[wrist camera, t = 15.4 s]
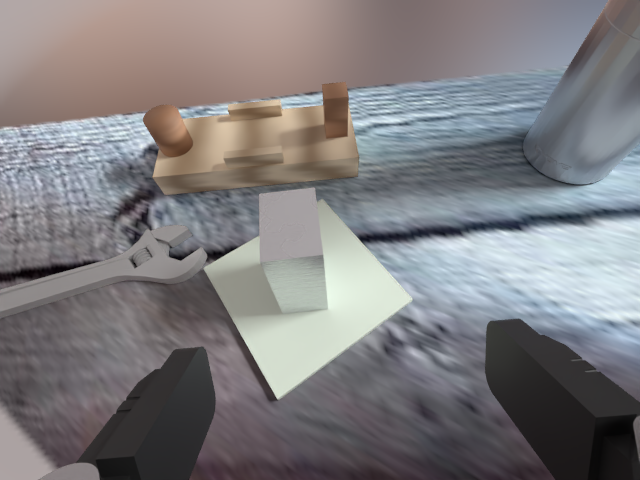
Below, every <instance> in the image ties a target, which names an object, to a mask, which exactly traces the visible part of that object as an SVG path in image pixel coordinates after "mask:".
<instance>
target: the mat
mask: <svg viewBox="0 0 640 480" xmlns="http://www.w3.org/2000/svg"><path fill="white" fill-rule="evenodd" d="M317 208H318V216H319V224H320V232H321V240H322V248H323V257H324V267H325V278H326V289H327V300H328V309H324V310H315V311H307V312H299V313H290V314H283V313H282V311H281V308H280V306H279V304H278V302H277V299H276V297H275V295H274V293H273V291H272V288H271V286H270V284H269V282H268V279H267V277H266V275H265V273H264V270H263V268H262V266H261V264H260V239H259V236H258V237H256V238H254V239H252V240H251V241H249V242H247V243H246V244H244V245H242V246H240V247H239V248H237V249H235V250H234V251H232V252H230V253H228V254H227V255H225V256H223V257H222V258H220V259H218V260H216V261H215V262H213V263H211V264H209V265H208V266H206V267H204V270H205V272H206V274H207V276H208V277H209V279H210V281H211V283H212V284H213V286H214V288H215V290H216V291H217V293H218V295H219V297H220V299H221V300H222V302H223V304H224V306H225V307H226V309H227V311H228V313H229V314H230V316H231V318H232V320H233V322H234V323H235V325H236V327H237V329H238V330H239V332H240V334H241V336H242V338H243V339H244V341H245V343H246V345H247V346H248V348H249V350H250V352H251V353H252V355H253V357H254V359H255V361H256V362H257V364H258V366H259V368H260V369H261V371H262V373H263V375H264V376H265V378H266V380H267V382H268V384H269V385H270V387H271V389H272V391H273V392H274V394H275V396H276V398H277V399H278V400H279V399H281V398H282V397H284V396H285V395H286V394H288V393H289V392H290V391H292V390H293V389H294V388H296V387H297V386H298V385H300V384H301V383H302V382H304V381H305V380H307V379H308V378H309V377H311V376H312V375H313V374H315V373H316V372H317V371H319V370H320V369H321V368H323V367H324V366H325V365H327V364H328V363H330V362H331V361H332V360H334V359H335V358H336V357H338V356H339V355H340V354H342V353H343V352H344V351H346V350H347V349H348V348H350V347H351V346H353V345H354V344H355V343H357V342H358V341H359V340H361V339H362V338H363V337H365V336H366V335H367V334H369V333H370V332H371V331H373V330H374V329H375V328H377V327H378V326H380V325H381V324H382V323H384V322H385V321H386V320H388V319H389V318H390V317H392V316H393V315H394V314H396V313H397V312H398V311H400V310H401V309H403V308H404V307H405V306H407V305H408V304H409V303H411V302H412V300H413V299H412V298H411V297H410V296H409V294H408V293H407V292H406V291H405V290H404V289H403V288H402V287H401V286H400V284H399V283H398V282H397V281H396V280H395V279H394V278H393V277H392V276H391V274H390V273H389V272H388V271H387V270H386V269H385V268H384V267H383V266H382V264H381V263H380V262H379V261H378V260H377V259H376V258H375V257H374V256H373V254H372V253H371V252H370V251H369V250H368V249H367V248H366V247H365V246H364V244H363V243H362V242H361V241H360V240H359V239H358V238H357V237H356V236H355V234H354V233H353V232H352V231H351V230H350V229H349V228H348V227H347V226H346V224H345V223H344V222H343V221H342V220H341V219H340V218H339V217H338V216H337V214H336V213H335V212H334V211H333V210H332V209H331V208H330V207H329V206H328V204H327V203H326V202H325V201H324V200H323V199H321V200H320V201H318V202H317Z"/></svg>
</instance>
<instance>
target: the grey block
mask: <svg viewBox="0 0 640 480" xmlns="http://www.w3.org/2000/svg"><path fill="white" fill-rule="evenodd" d="M259 239H260V264H261V266H262V268H263V270H264V273H265V275H266V277H267V279H268V282H269V284H270V286H271V288H272V291H273V293H274V295H275V297H276V299H277V302H278V304H279V306H280V308H281V311H282V313H283V314H290V313H299V312H307V311H315V310H324V309H328V300H327V289H326V278H325V267H324V257H323V248H322V240H321V232H320V224H319V216H318V208H317V200H316V192H315V187H313V188H305V189H296V190H287V191H279V192H270V193H262V194H259Z"/></svg>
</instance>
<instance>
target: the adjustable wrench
mask: <svg viewBox="0 0 640 480" xmlns="http://www.w3.org/2000/svg"><path fill="white" fill-rule="evenodd" d="M191 236H193V235H192V234H191V232H190V231H189V230H188V228H187V227H186V226H182V225H170V226H164V227H161V228H157V229H154V230H152V231H150V230H149V229H147V230H146V231H145V233H144V235H142V236H141V237H140V238H141V239H140V240H139V241H138V242H137V243H135V244H134V245H133V246H132V247H131V248H130V249H128V250H127V251H125V252H124V253H122V254H120V255H118V256H116V257H114V258H111V259H108V260H104V261H101V262H97V263H94V264H90V265H86V266H83V267H79V268H76V269H72V270H69V271H65V272H61V273H58V274H54V275H51V276H47V277H43V278H40V279H36V280H33V281H29V282H26V283H22V284H18V285H15V286H11V287H8V288H4V289H1V290H0V318H3V317H7V316H10V315H13V314H16V313H19V312H23V311H26V310H29V309H32V308H36V307H39V306H42V305H45V304H49V303H52V302H55V301H58V300H61V299H65V298H68V297H71V296H74V295H78V294H81V293H84V292H87V291H91V290H94V289H97V288H100V287H104V286H107V285H110V284H113V283H117V282H121V281H130V280H137V281H152V282H159V283H165V284H176V283H181V282H184V281H186V280H188V279H190V278H191V277H193V276H194V275H195V274H196V273H198V272H199V270H200V269H201V268H202V267H203V266H204V264H205V261H206V259H207V254H206V252H205V251H204V250H203V248H202V247H201V248H199V249H198V250H196V251H195V252H193V253H192V254H190V255H189V256H188V257H186V258H185V259H183V260H182V261H179V260H176V259H173V258H170V257H169V249H170V247H172V248H174V247H176V246H177V245H179V244H180V243H182V242H184V241H185V240H187V239H188V238H190V237H191ZM134 262H135V264H136V266H137V268H136V266H135V265H134Z"/></svg>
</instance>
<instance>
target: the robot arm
mask: <svg viewBox="0 0 640 480" xmlns="http://www.w3.org/2000/svg"><path fill="white" fill-rule="evenodd" d="M639 144H640V0H608V2H607V4H606V6H605V7H604V9H603V11H602V13H601V14H600V16H599V17H598V19H597V20H596V22H595V24H594V25H593V27H592V29H591V30H590V32H589V34H588V35H587V37H586V38H585V40H584V42H583V44H582V45H581V47H580V48H579V50H578V52H577V53H576V55H575V57H574V58H573V60H572V62H571V63H570V65H569V66H568V68H567V70H566V71H565V73H564V75H563V76H562V78H561V80H560V81H559V83H558V84H557V86H556V88H555V89H554V91H553V93H552V94H551V96H550V98H549V99H548V101H547V103H546V104H545V106H544V107H543V109H542V110H541V112H540V114H539V115H538V117H537V119H536V120H535V122H534V124H533V125H532V127H531V129H530V130H529V132H528V134H527V135H526V137H525V139H524V141H523V151H524V154H525V156H526V158H527V160H528V161H529V162H530V163H531V164H532V166H533V167H535V168H536V169H537V170H538V171H540V172H541V173H543V174H545V175H546V176H548V177H550V178H553V179H555V180H558V181H562V182H565V183H571V184H590V183H595V182H597V181H600V180H602V179H603V178H605V177H606V176H607V175H608V174H609V173H610V172H611V171H612V170H613V169H614V168H615V167H616V166H617V165H618V164H619V163H620V162H621V161H622V160H623V159H624V158H625V157H626V156H627V155H628V154H629V153H630V152H631V151H632V150H633V149H635V148H636V147H637V146H638V145H639ZM485 373H486V378H487V382H488V385H489V388H490V390H491V392H492V393H493V395H494V396H495V398H496V399H497V400H498V402H499V403H500V404H501V406H502V407H503V409H504V410H505V411H506V413H507V414H508V415H509V417H510V418H511V419H512V421H513V422H514V424H515V425H516V426H517V428H518V429H519V430H520V432H521V433H522V435H523V436H524V437H525V439H526V440H527V441H528V443H529V444H530V445H531V447H532V448H533V450H534V451H535V452H536V454H537V455H538V456H539V458H540V459H541V460H542V462H543V463H544V465H545V466H546V467H547V469H548V470H549V471H550V473H551V474H552V476H553V477H554V478H555V480H640V402H638V401H637V400H636V399H635V398H633V397H632V396H631V395H629V394H628V393H627V392H625V391H624V390H623V389H622V388H620V387H619V386H618V385H616V384H615V383H614V382H613V381H611V380H610V379H609V378H607V377H606V376H605V375H603V374H602V373H601V372H597V371H596V368H594V367H593V366H592V365H591V364H589V363H588V362H587V361H585V360H584V361H583V360H582V358H581V357H580V356H579V355H578V354H576V353H575V352H574V351H572V350H571V349H570V348H569V347H567V346H566V345H564V344H562V343H560V342H558V341H556V340H553V339H551V338H549V337H547V336H545V335H539V334H538V333H537V332H536V331H535V330H533V329H532V328H531V327H530V326H528V325H527V324H526V323H525V322H524V321H522V320H521V319H508V320H497V321H490V322H489V323H488V325H487V331H486V361H485ZM215 401H216V400H215V391H214V386H213V381H212V376H211V371H210V366H209V362H208V357H207V353H206V350H205V349H204V348H203V347H195V348H184V349H176V350H174V351H173V352H172V354H171V355H170V356H169V358H168V359H167V360H166V362H165V363H164V365H163V366H162V367H161V369H155V370H154V371H153V372H151V373H150V374H149V375H147V376H146V377H145V378H144V379H142V380H141V381H140V382H138V383H137V385H136V386H135V387H134V389H133V390H132V391H131V392H130V394H129V395H128V396H127V399H126V401H124V402H123V403H122V404H121V405H120V407H119V408H118V409H117V412H116V414H113V416H112V417H111V418H110V420H109V421H108V422H107V423H106V425H105V426H104V427H103V429H102V430H101V431H100V433H99V434H98V435H97V436H96V438H95V439H94V440H93V442H92V443H91V444H90V445H89V447H88V448H87V449H86V451H85V452H84V453H83V454H82V456H81V457H80V458H79V460H78V461H77V462H76V463H75V464H71V465H67V466H64V467H61V468H59V469H57V470H55V471H52V472H51V473H49V474H47V475H45V476H44V477H42V478H41V479H39V480H189V478H190V476H191V473H192V471H193V468H194V465H195V463H196V460H197V458H198V455H199V453H200V450H201V447H202V445H203V442H204V440H205V437H206V435H207V432H208V429H209V427H210V424H211V422H212V419H213V416H214V412H215Z"/></svg>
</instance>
